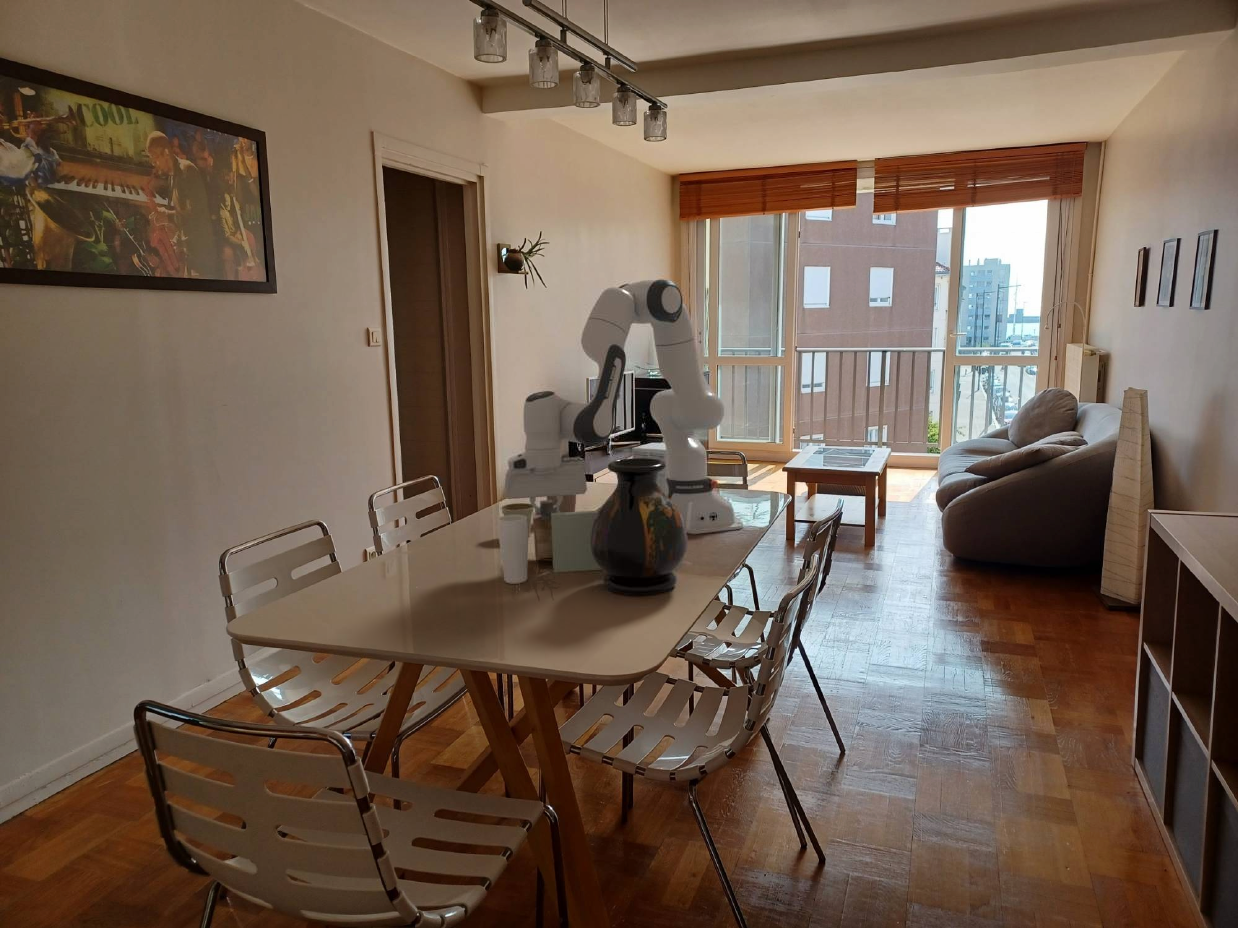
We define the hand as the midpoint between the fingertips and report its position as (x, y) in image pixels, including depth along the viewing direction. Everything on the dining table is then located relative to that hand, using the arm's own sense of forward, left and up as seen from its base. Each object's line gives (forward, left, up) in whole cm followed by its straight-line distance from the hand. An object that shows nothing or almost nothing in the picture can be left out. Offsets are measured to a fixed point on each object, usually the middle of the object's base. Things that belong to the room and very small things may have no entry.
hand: (547, 513), depth 211 cm
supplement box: (-40, -69, -12) cm, 80 cm away
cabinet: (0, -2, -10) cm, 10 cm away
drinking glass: (+8, +15, -12) cm, 21 cm away
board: (-9, +7, -12) cm, 17 cm away
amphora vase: (-19, +25, -12) cm, 34 cm away
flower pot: (+7, -27, -12) cm, 30 cm away
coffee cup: (-6, -44, -12) cm, 46 cm away
